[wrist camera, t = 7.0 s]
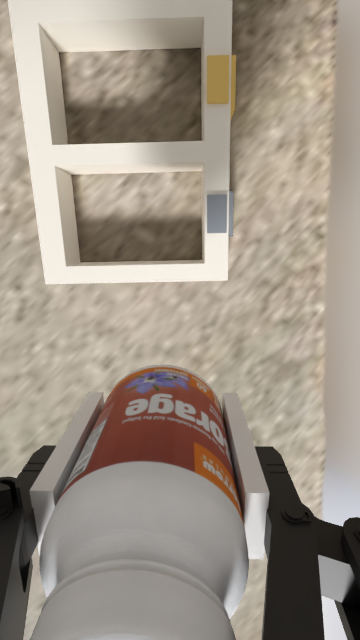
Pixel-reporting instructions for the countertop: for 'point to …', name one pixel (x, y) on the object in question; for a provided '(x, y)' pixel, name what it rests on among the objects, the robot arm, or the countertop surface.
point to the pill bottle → (147, 521)
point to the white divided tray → (182, 156)
